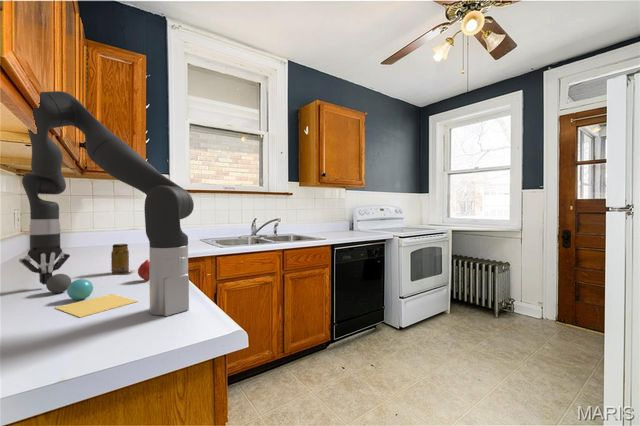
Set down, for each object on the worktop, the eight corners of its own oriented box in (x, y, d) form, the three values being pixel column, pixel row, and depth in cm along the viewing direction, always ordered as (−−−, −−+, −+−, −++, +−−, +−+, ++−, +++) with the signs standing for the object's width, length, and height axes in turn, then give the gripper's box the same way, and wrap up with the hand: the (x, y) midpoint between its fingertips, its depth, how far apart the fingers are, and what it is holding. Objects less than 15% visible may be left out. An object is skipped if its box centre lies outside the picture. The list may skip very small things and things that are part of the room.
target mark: (137, 301, 84) (137, 301, 84) (80, 317, 72) (80, 316, 72) (111, 294, 91) (111, 294, 91) (54, 308, 79) (54, 307, 79)
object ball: (95, 298, 87) (95, 279, 87) (70, 304, 82) (69, 283, 82) (90, 295, 90) (89, 276, 90) (64, 299, 86) (64, 279, 86)
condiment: (115, 271, 124) (115, 243, 124) (137, 270, 126) (137, 243, 126) (106, 275, 117) (106, 245, 117) (129, 274, 119) (129, 245, 118)
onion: (134, 281, 107) (133, 260, 107) (147, 278, 112) (147, 257, 112) (146, 283, 105) (146, 261, 105) (159, 279, 111) (159, 258, 110)
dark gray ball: (73, 292, 93) (73, 273, 93) (48, 296, 89) (48, 277, 89) (68, 288, 97) (68, 271, 97) (44, 292, 92) (44, 274, 92)
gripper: (64, 230, 105) (65, 278, 105) (13, 233, 93) (14, 287, 93) (74, 231, 101) (75, 281, 102) (22, 234, 90) (23, 290, 90)
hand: (45, 283), depth 98 cm, fingers closed
